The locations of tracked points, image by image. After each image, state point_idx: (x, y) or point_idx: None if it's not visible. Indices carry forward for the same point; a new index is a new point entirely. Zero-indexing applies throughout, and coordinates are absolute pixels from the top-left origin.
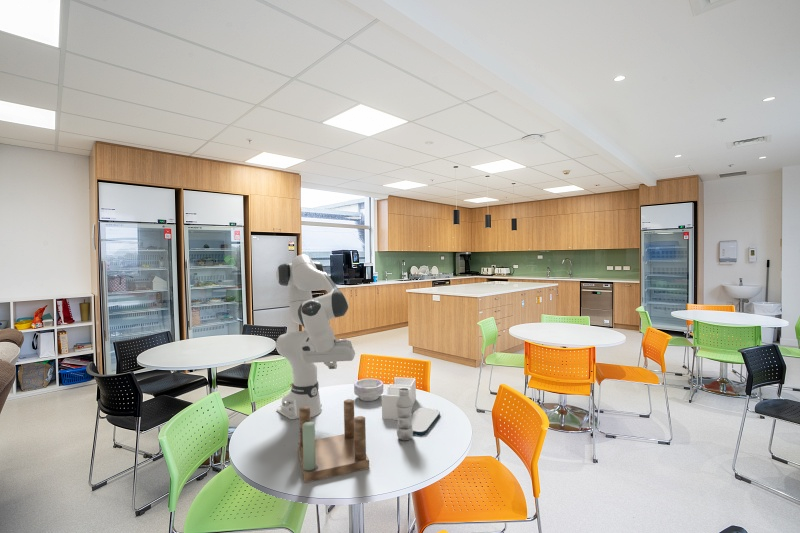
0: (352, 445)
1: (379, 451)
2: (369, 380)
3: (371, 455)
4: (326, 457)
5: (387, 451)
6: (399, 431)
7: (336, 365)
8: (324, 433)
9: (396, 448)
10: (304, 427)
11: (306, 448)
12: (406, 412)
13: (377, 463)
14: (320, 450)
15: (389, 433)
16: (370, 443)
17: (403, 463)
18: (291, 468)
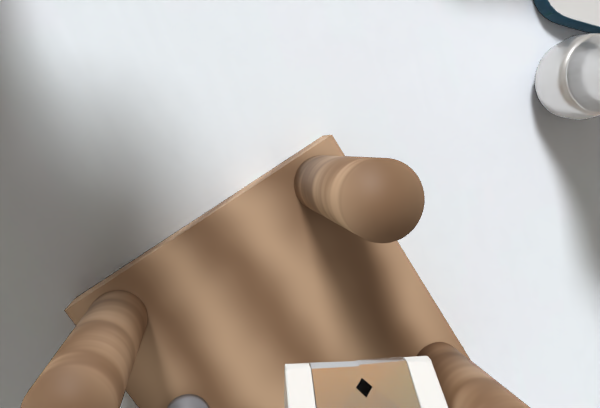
0: (368, 273)
1: (470, 222)
2: None
3: (444, 262)
4: (283, 404)
5: (504, 214)
6: (572, 110)
7: (432, 388)
8: (129, 95)
9: (537, 181)
10: None
11: None
12: None
13: (483, 316)
14: (227, 355)
15: (479, 39)
16: (412, 158)
17: (582, 292)
18: None
